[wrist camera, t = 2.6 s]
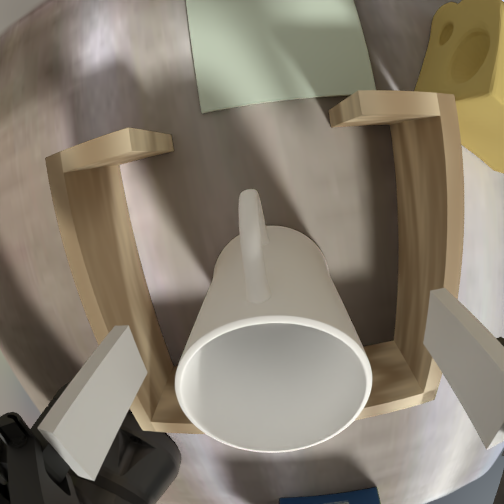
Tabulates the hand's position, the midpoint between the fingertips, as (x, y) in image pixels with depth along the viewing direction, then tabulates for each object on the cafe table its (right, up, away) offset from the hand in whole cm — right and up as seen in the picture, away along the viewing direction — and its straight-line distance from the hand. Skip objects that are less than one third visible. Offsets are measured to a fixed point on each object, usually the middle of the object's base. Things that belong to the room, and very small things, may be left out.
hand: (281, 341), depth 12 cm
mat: (0, +19, +4) cm, 20 cm away
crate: (0, +3, +10) cm, 10 cm away
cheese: (+16, +16, +5) cm, 24 cm away
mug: (0, +3, +10) cm, 11 cm away
